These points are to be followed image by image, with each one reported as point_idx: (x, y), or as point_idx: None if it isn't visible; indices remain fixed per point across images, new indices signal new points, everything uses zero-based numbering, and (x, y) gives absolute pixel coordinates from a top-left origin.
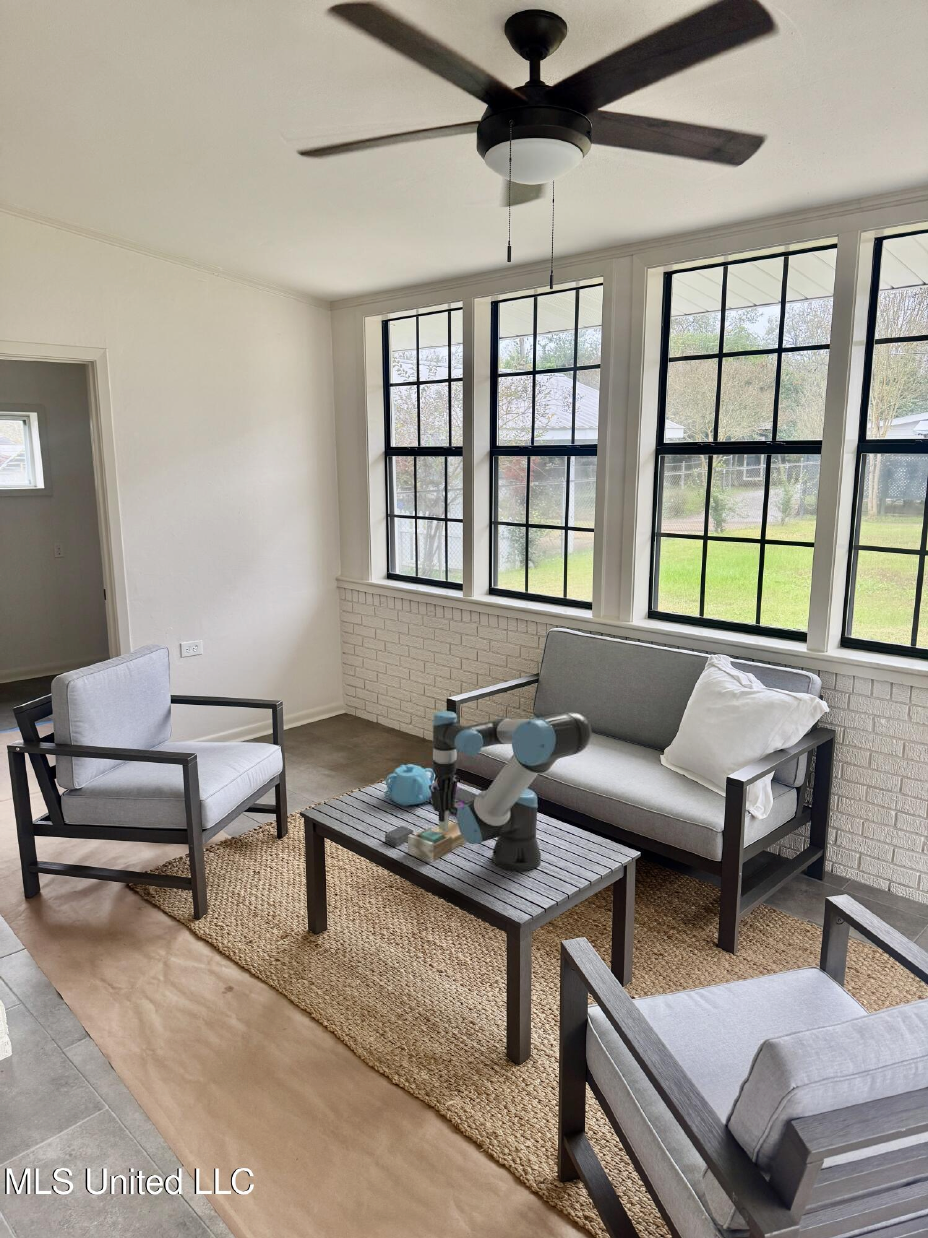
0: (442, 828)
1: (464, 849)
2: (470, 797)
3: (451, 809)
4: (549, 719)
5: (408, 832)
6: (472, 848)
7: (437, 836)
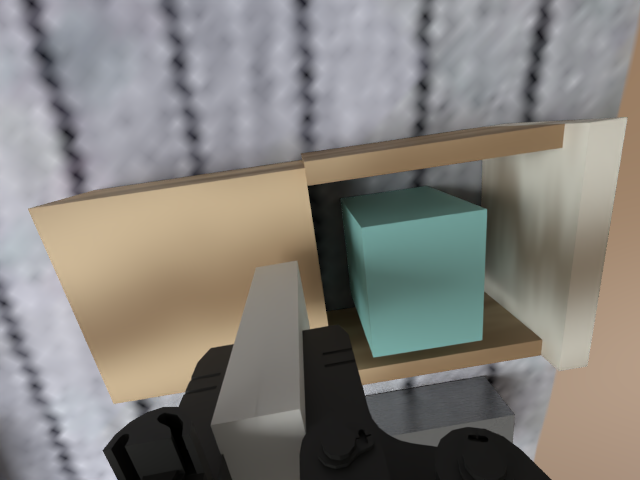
0: (304, 301)
1: (215, 112)
2: None
3: (142, 433)
4: None
5: (411, 432)
6: (157, 82)
7: (422, 230)
